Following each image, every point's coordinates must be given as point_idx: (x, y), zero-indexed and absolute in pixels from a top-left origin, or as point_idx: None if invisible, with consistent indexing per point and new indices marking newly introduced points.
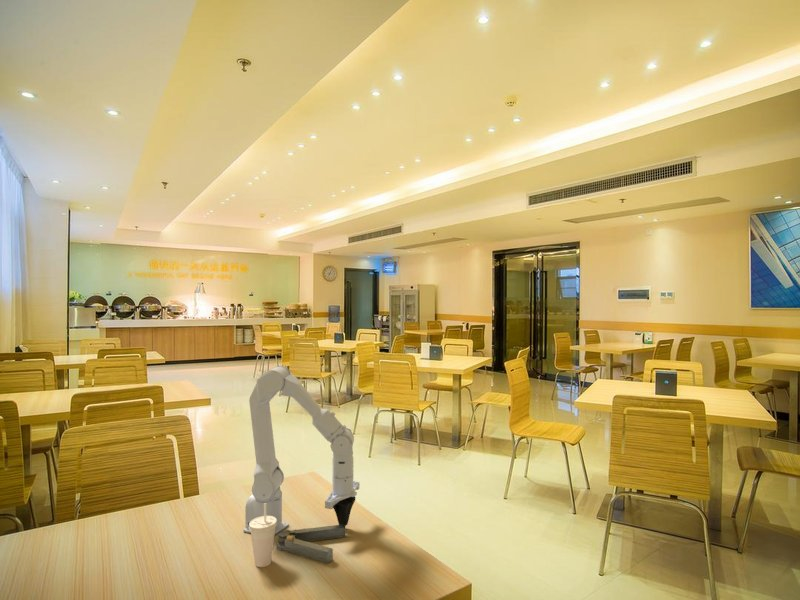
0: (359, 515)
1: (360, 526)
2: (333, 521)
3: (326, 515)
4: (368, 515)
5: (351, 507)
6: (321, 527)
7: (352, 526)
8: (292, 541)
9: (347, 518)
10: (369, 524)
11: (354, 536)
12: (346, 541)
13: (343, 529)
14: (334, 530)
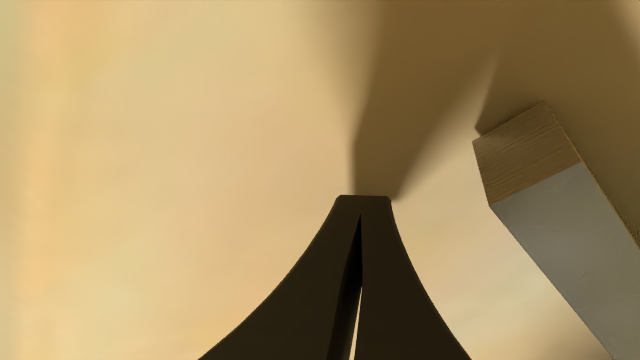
0: (96, 185)
1: (246, 78)
2: None
3: None
4: (32, 118)
5: (267, 317)
6: (629, 357)
7: (290, 147)
8: None
9: (353, 237)
10: (149, 8)
11: (477, 19)
12: (623, 43)
13: (585, 166)
14: (633, 240)
